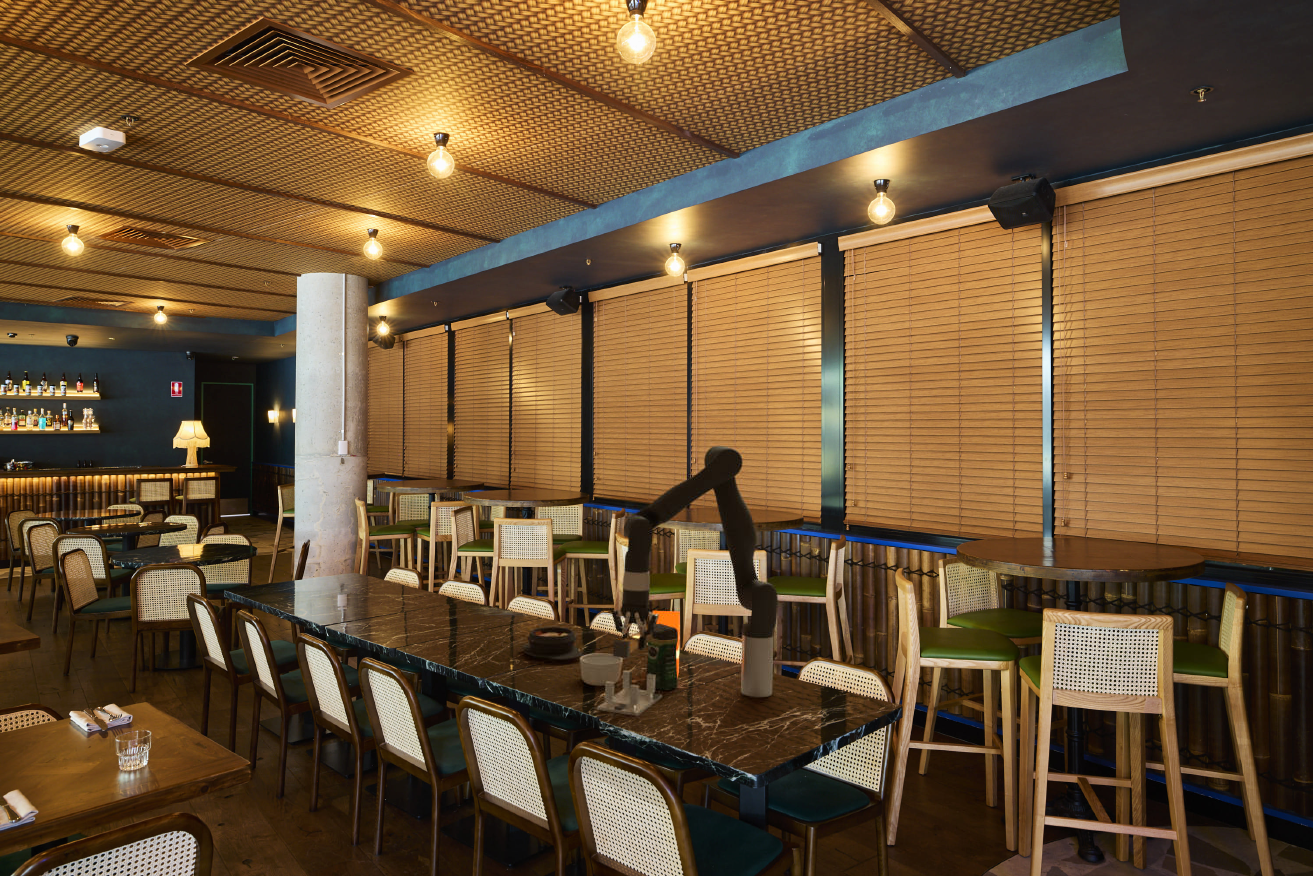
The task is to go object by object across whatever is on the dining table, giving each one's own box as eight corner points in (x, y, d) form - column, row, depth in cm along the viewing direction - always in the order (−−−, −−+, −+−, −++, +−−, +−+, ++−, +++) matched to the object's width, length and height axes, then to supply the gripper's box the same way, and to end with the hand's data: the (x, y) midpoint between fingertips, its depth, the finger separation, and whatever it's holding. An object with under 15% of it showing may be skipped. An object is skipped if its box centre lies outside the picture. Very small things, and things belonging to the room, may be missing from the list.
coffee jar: (681, 688, 238) (683, 626, 238) (660, 692, 233) (662, 629, 233) (662, 680, 246) (663, 620, 246) (641, 684, 241) (642, 623, 241)
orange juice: (678, 677, 249) (679, 614, 249) (650, 676, 249) (651, 613, 250) (678, 670, 257) (680, 609, 257) (651, 669, 257) (653, 608, 257)
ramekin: (627, 677, 248) (628, 655, 248) (614, 689, 236) (614, 665, 236) (588, 673, 252) (588, 651, 252) (572, 684, 239) (573, 661, 239)
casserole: (508, 653, 274) (509, 628, 275) (552, 644, 287) (552, 621, 287) (550, 668, 256) (551, 642, 256) (595, 659, 269) (596, 634, 269)
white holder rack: (624, 691, 233) (624, 667, 233) (661, 697, 229) (662, 673, 229) (597, 709, 216) (597, 684, 217) (637, 716, 212) (637, 689, 212)
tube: (639, 641, 231) (639, 627, 231) (652, 643, 229) (652, 629, 229) (613, 656, 213) (613, 641, 213) (627, 658, 212) (627, 642, 212)
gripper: (664, 587, 223) (662, 648, 223) (618, 583, 228) (616, 642, 228) (655, 591, 216) (652, 654, 216) (607, 586, 221) (605, 648, 221)
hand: (633, 648), depth 222 cm, fingers closed on tube, 4 cm apart
